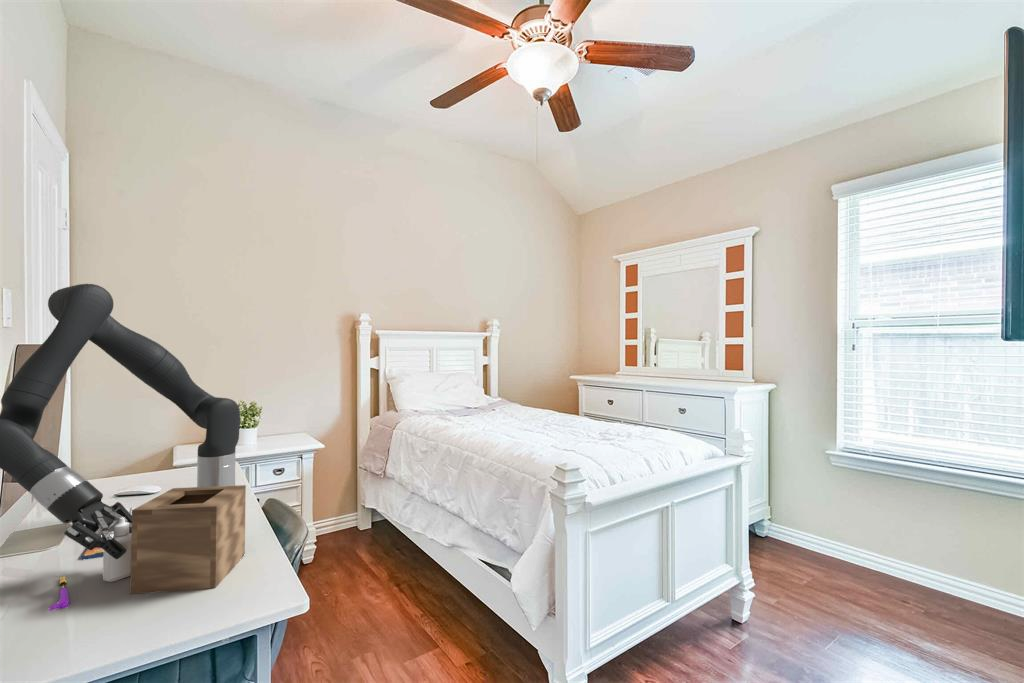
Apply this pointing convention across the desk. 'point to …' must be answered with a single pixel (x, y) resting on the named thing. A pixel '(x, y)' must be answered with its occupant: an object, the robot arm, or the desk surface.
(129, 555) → the eye dropper bottle
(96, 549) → the smartphone
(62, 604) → the linear piston actuator
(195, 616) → the desk surface
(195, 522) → the box
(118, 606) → the desk surface
